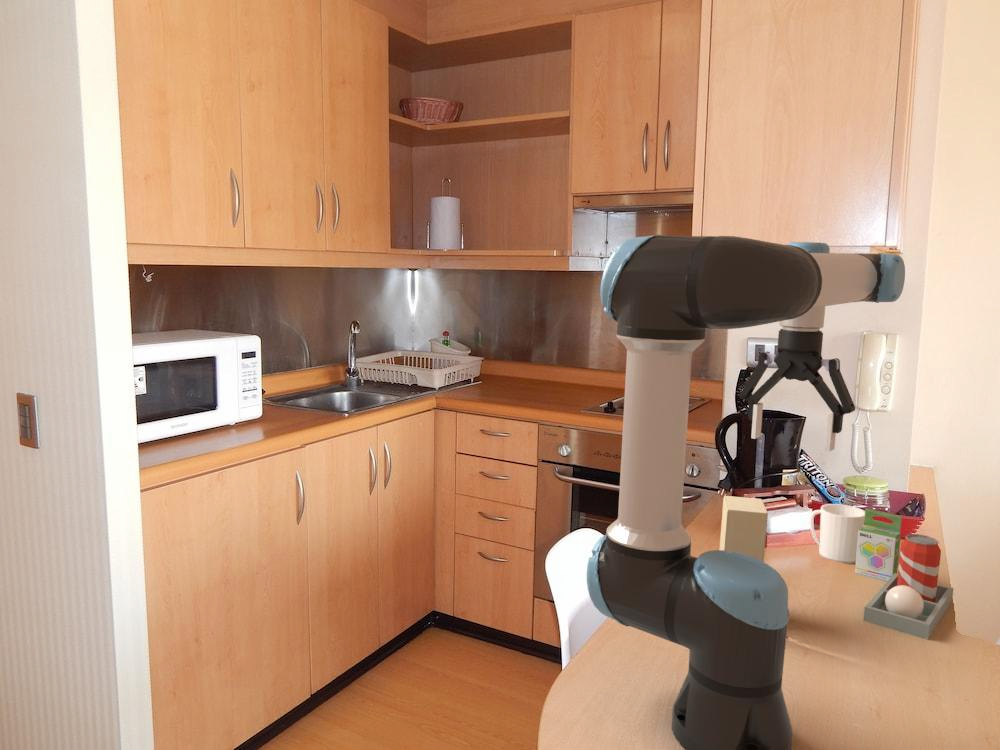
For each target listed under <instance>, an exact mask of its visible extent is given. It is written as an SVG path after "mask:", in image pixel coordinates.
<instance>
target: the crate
mask: <svg viewBox="0 0 1000 750" xmlns="http://www.w3.org/2000/svg"><path fill="white" fill-rule="evenodd" d="M897 580H898V573H897V574H896V573H894V574H893V575H892V577H891V578H890V579H889V580H888V581H887V582H885V583H884V585H883V586H881V588H880V589H879V590H878V591H877V593H875V595H874V596H873V597H872V598H871V599H870V600H869V601H868V603H867V604H866V605H865V606H864V610H863V620H862V621H863V622H866V623H869V624H873V625H877V626H879V627H884V628H887V629H889V630H893V631H897V632H899V633H904V634H907V635H910V636H914V637H916V638H917V637H918V638H921V639H924V640H929V638H930V637H931V636H932V634H933V632H934V630H935V629H936V627H937V626H938V624H939V623H940V621H941V619H942V618H943V616H944V615H945V613H946V611H947V609H948V608H949V606H951V604H952V602H953V597H954V596H953V595H954V590H955V589H954V587H951V586H947V585H944V584H939V583H937V591H936V600H935V603H934V602H930V601H926V600H923V602H924V609H923V612H922V614H921V615H920V616H919V617H918V618H917V619H912V618H909V617H905V616H902V615H898V614H895V613H891V612H888V610H887V608H886V605H885V597H886V594H887V592H888V591H889V590H890V589H891V588H893V587H895V586H897Z"/></svg>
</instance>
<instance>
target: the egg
mask: <svg viewBox="0 0 1000 750" xmlns="http://www.w3.org/2000/svg"><path fill="white" fill-rule="evenodd" d="M885 605H886V608H887V610H888V612H891V613H895V614H898V615H902V616H905V617H909V618H912V619H917V618H918V617H919V616H920V615H921V614H922V612H923V609H924V602H923V599H922V597H921V595H920V594H919V593H918V592H917V591H916V590H915V589H913V588H912V587H909V586H905V585H899V586H895V587H893V588H891V589H890V590H889V591H888V592H887V594H886V597H885Z"/></svg>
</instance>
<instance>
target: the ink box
mask: <svg viewBox="0 0 1000 750" xmlns="http://www.w3.org/2000/svg"><path fill="white" fill-rule="evenodd" d="M864 511H865V519H864V525H863V527H862V528H861V529H860V530H859V531H858V541H857V553H856V563H855V569H854V574H856V575H859V576H864V577H865V578H866V577H867V578H870V579H874V580H878V581H881V582H885V583H886V582H887V581H888V580H889V579H890V578H891V577H892V575H893V574H894V573H896V574H898V569H899V559H900V548H901V535H902V534H901V528H902V527H901V526H902V520H903V515H899V514H898V515H897V514H893V513H889V512H885V511H880V510H874V509H871V508H865V510H864ZM873 517H883V518H886V519H888V520H890V521H892V523H890V522H889V523H888V522H885V521H881V520H876V519H874V518H873Z"/></svg>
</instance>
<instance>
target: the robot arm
mask: <svg viewBox="0 0 1000 750" xmlns="http://www.w3.org/2000/svg"><path fill="white" fill-rule="evenodd" d="M905 278H906V265H905V262H904V259H903V257H902V256H900V255H898V254H894V253H893V254H892V253H891V254H890V253H883V252H879V253H859V252H858V253H852V252H851V253H845V252H843V253H842V252H841V253H840V252H839V253H836V252H835V253H834V252H831V250H830V246H829V244H827V243H825V242H816V241H815V242H808V241H793V242H789V243H787V244H783V243H776V242H769V241H764V240H758V239H753V238H747V237H742V236H734V235H732V236H731V235H719V236H717V235H716V236H714V235H713V236H711V235H710V236H708V235H707V236H706V235H702V236H701V235H694V236H692V235H690V236H688V235H660V234H656V235H654V234H653V235H647V236H646V235H645V236H635V237H631V238H628V239H626V240H625V241H623V242H622V243H621V244H619V245H618V246H617V247H616V249H615V250H614V252H613V253H611V255H610V256H609V258H608V260H607V262H606V264H605V267H604V270H603V273H602V277H601V281H600V282H601V283H600V290H599V291H600V301H601V306H603V312H604V313H605V315H606V316H607V318H610V319H611V320H612V321H614V322H616V338H617V339H618V340H619V341H620V342H621V343H622V345H623V346H624V347H625V349H626V363H625V380H624V381H625V383H624V384H625V385H624V400H623V419H622V420H623V421H622V437H621V440H622V441H621V453H620V454H621V457H620V459H621V460H620V471H619V473H620V476H619V491H618V493H619V495H618V513H617V515H618V516H617V518H616V519H615V520H614V521H613V522H612V523H611V524H610V525H609V526H608V527H607V528H606V534H604V535H603V536H600V538H599V539H598V540H597V542H595V544H594V546H593V547H592V550H591V553H592V556H591V557H588V561H587V567H586V585H587V591H588V595H589V598H590V600H591V602H592V604H593V606H594V607H595V608H596V609H597V611H598V612H599V613H601V614H602V615H603V616H605V617H608V618H610V619H612V620H614V621H616V622H617V623H618V624H620V625H622V626H625V627H631V628H634V629H637V630H640V631H642V632H645V633H647V634H650V635H653V636H655V637H658V638H660V639H663V640H666V641H668V642H671V643H674V644H677V645H679V646H682V647H685V648H686V649H688V650H689V657H688V672H687V674H686V676H685V679H684V681H683V683H682V685H681V688H680V689H679V693H678V694H677V696H676V699H675V701H674V704H673V706H672V710H671V711H672V712H671V731H672V733H673V735H674V738H675V739H676V740H677V742H678V743H679V745H681V747H683V748H684V749H685V750H792V744H793V743H792V742H793V727H792V723H791V720H790V717H789V715H790V714H789V711H788V708H787V705H786V700H785V698H784V692H783V688H782V685H783V684H782V683H783V675H784V663H785V652H786V639H787V629H788V623H789V619H790V614H789V613H790V610H789V588H788V585H787V583H786V582H787V581H785V579H784V578H783V577H782V575H781V574H780V573H779V571H778V570H776V569H775V568H773V567H772V566H770V565H769V564H767V563H766V562H762V561H760V560H758V559H756V558H753V557H751V556H748V555H745V554H742V553H737V552H731V553H728V552H726V551H724V550H719V549H717V550H707V551H704V552H702V553H700V555H698V556H697V557H695V556H692V555H691V551H692V550H691V549H692V536H691V535H690V533H689V532H688V531H687V530H686V529H685V528H684V526H683V525H682V513H683V501H684V500H683V497H684V482H685V466H686V454H687V452H686V451H687V450H686V449H687V436H688V425H689V424H688V422H689V421H688V420H689V409H690V408H689V406H690V391H691V377H692V364H693V363H692V361H693V360H692V359H693V353H694V352H695V351H696V349H698V348H699V347H700V346H701V345H702V344H703V343H704V342H705V340H706V331H707V329H709V330H710V329H711V330H713V329H715V330H734V329H735V330H737V329H744V328H750V327H751V328H752V327H757V326H762V325H768V324H772V323H773V324H774V323H778V324H779V326H780V327H781V328H780V329H779V330H778V335H777V336H778V338H777V352H776V353H775V354H774V353H771V352H770V351H764V352H763V351H762V352H760V353H759V356H758V362H757V364H756V366H755V367H754V370H753V372H752V373H751V375H750V376H749V378H748V379H747V381H746V383H745V385H743V388H742V389H741V391H740V393H739V399H740V400H744V401H746V402H747V403H748V412H747V413H748V414H747V418H748V420H750V421H751V422H752V423H751V435H750V437H751V439H754V440H756V439H758V438H761V434H762V421H763V411H764V410H763V408H764V403H762V402H760V400H761V399H762V398H764V396H766V395H767V394H768V392H770V391H771V390H772V389H773V388H774V387H775V386H776V385H777V384H778V383H779V382H780V381H781V380H782V379H784V378H785V379H786V380H792V381H793V380H797V381H799V382H800V381H801V382H805V381H806V382H807V381H808V382H809V384H811V385H812V386H813V387H814V389H815V390H816V392H817V393H818V394H819V396H820V397H821V399H822V400H823V401H824V402H825V404H826V405H827V407H828V409H830V411H831V412H832V413H829V414H828V415H827V427H826V428H827V429H826V436H825V437H826V439H825V448H824V449H825V450H824V451H825V452H832V451H834V450H835V446H836V437H837V436H836V434H840V433H841V432H842V430H843V422H844V415H846V414H850V413H853V412H855V410H856V406H855V403H854V401H853V399H852V397H851V393H850V392H849V389H848V386H847V384H846V381H845V380H844V379H845V378H844V377H843V375H842V373H841V360H840V359H839V358H838V357H837V358H836V357H835V358H829V359H827V358H826V359H823V356H822V351H823V340H824V339H823V338H824V337H823V336H824V333H823V331H821V329H822V328H824V325H825V314H826V307H828V306H829V307H830V306H835V305H845V304H851V303H860V302H865V303H866V302H867V303H875V304H876V303H877V304H879V303H893V302H896V301H898V299H900V297H901V295H902V293H903V290H904V286H905ZM773 362H774V363H775V365H776V367H777V368H778V369H777V370H775V371H774V372H773V374H772V375H771V376H770V377H769V378H768V379H767V380H766V381H765V382H764V383H763V384H762V385H760V387H759V388H758V389H757V390H755V388H756V387H757V386H758V384H759V382H760V380H761V378H762V377H763V375H764V374H765V372H766V371H767V369H768V367H769V365H772V364H773ZM822 367H824V369H825V370H826V372H828V374H829V377H830V381H831V382H832V385H833V387H834V390H835V391H836V395H837V397H838V399H837V397H836V396H835V394H834V393H833V391H832V390H831V389H830V387H829V386H828V384H826V382H825V380H824V378H823V376H822V375H821V374H820V372H819V370H820V369H821V368H822ZM754 390H755V392H754ZM753 392H754V393H753Z"/></svg>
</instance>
